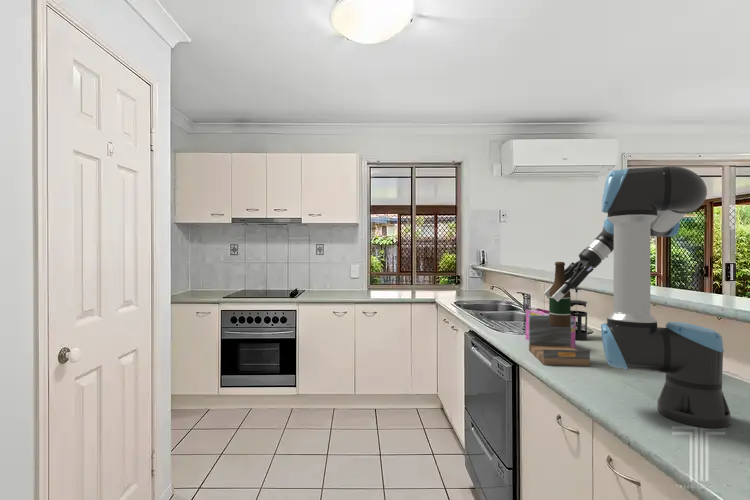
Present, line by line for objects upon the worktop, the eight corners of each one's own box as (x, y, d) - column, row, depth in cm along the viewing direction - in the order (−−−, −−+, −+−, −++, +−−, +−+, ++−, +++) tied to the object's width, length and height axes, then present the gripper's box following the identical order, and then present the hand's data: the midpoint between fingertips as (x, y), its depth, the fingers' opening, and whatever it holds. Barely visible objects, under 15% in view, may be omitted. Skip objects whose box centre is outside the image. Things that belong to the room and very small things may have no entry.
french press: (591, 341, 188) (591, 289, 188) (568, 340, 190) (569, 289, 189) (582, 335, 200) (582, 286, 199) (561, 334, 201) (561, 286, 201)
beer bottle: (567, 328, 155) (567, 262, 155) (545, 325, 161) (545, 262, 160) (573, 325, 161) (574, 261, 161) (552, 322, 166) (552, 261, 166)
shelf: (589, 366, 152) (590, 325, 152) (543, 365, 154) (544, 325, 153) (569, 351, 172) (569, 315, 172) (528, 350, 174) (529, 315, 173)
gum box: (523, 338, 195) (523, 308, 195) (537, 336, 198) (537, 307, 197) (560, 351, 173) (560, 317, 172) (576, 349, 175) (576, 316, 175)
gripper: (616, 263, 150) (569, 309, 151) (587, 260, 170) (546, 300, 171) (601, 248, 150) (554, 294, 150) (574, 246, 170) (533, 287, 171)
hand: (550, 297), depth 161 cm, fingers closed on beer bottle, 7 cm apart
